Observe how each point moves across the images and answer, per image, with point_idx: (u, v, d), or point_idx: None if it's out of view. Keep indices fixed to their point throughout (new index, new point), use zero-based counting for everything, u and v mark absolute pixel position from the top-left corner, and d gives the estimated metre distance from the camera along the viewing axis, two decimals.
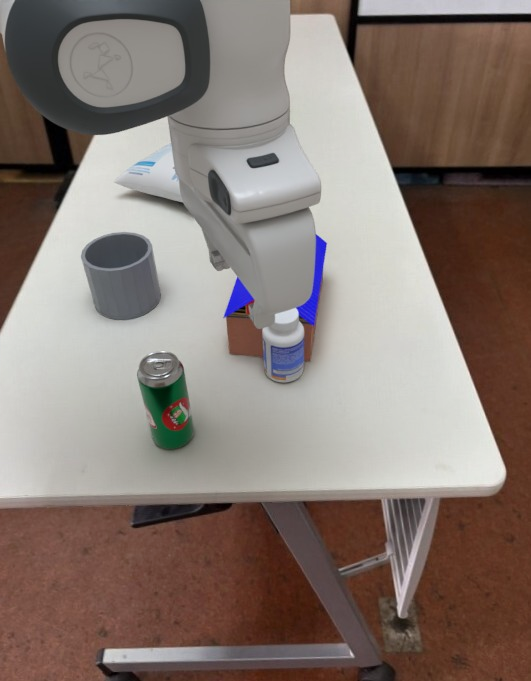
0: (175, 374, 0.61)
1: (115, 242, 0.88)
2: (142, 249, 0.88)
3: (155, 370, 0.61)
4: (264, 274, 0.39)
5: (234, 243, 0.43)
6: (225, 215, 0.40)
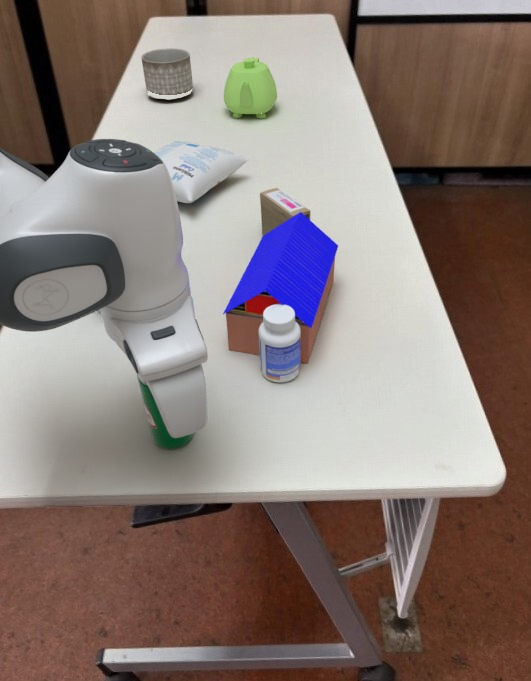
0: None
1: None
2: None
3: None
4: (165, 415, 0.52)
5: None
6: None
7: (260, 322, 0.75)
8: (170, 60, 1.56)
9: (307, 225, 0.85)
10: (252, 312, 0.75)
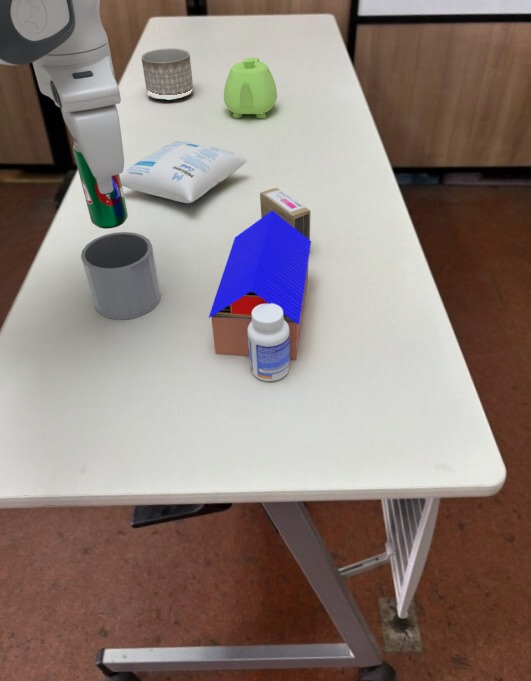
0: None
1: (115, 242, 0.88)
2: (142, 249, 0.88)
3: None
4: (85, 146, 0.63)
5: None
6: None
7: (247, 323, 0.75)
8: (170, 60, 1.56)
9: (280, 223, 0.85)
10: (238, 313, 0.75)
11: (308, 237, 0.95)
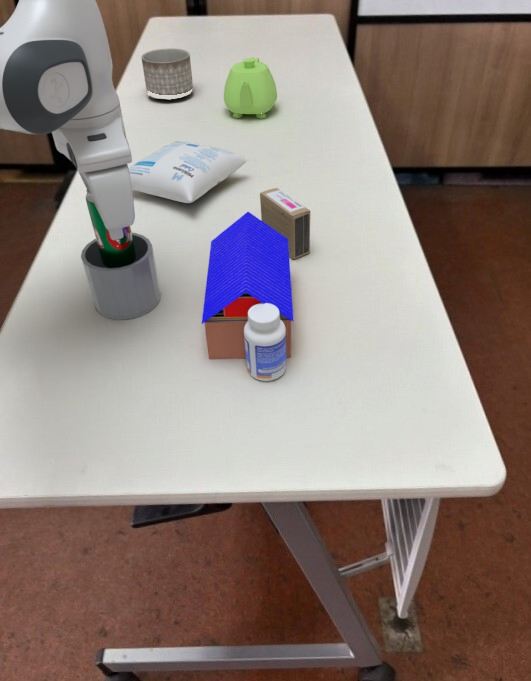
0: None
1: None
2: (142, 249, 0.88)
3: None
4: (99, 203, 0.68)
5: None
6: None
7: (241, 325, 0.75)
8: (170, 60, 1.56)
9: (258, 224, 0.85)
10: (231, 316, 0.75)
11: (308, 237, 0.95)
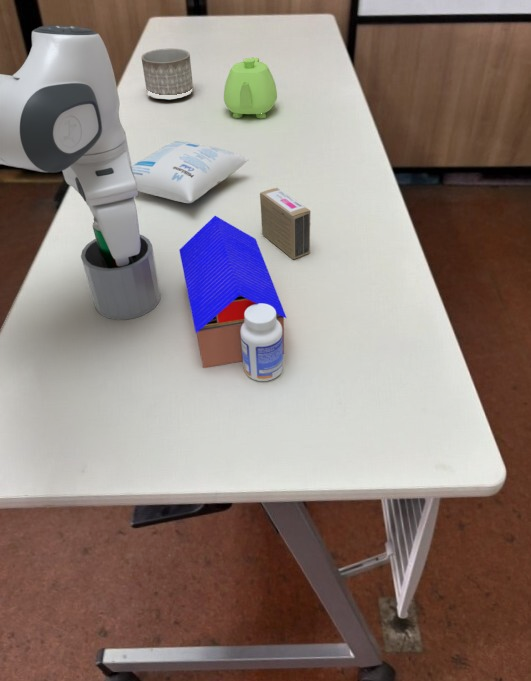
0: None
1: None
2: (142, 249, 0.88)
3: None
4: (107, 234, 0.71)
5: None
6: None
7: (234, 329, 0.74)
8: (170, 60, 1.56)
9: (227, 227, 0.85)
10: (225, 321, 0.74)
11: (308, 237, 0.95)
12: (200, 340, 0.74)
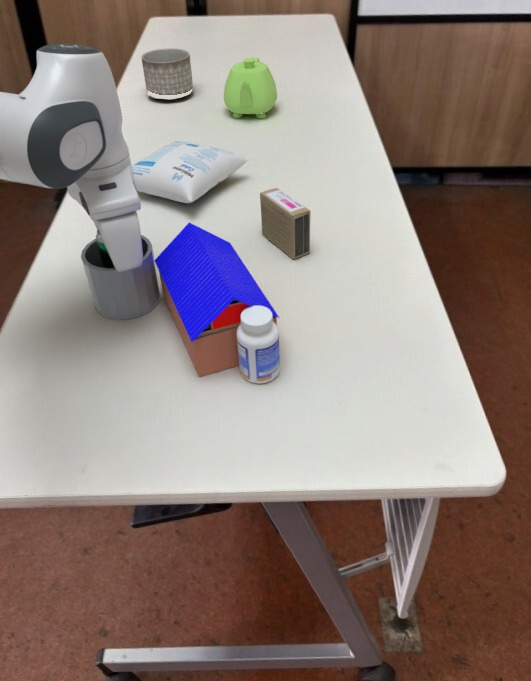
0: None
1: None
2: (142, 249, 0.88)
3: None
4: (110, 247, 0.72)
5: None
6: None
7: (229, 334, 0.74)
8: (170, 60, 1.56)
9: (202, 232, 0.84)
10: (219, 327, 0.73)
11: (308, 237, 0.95)
12: (196, 349, 0.73)
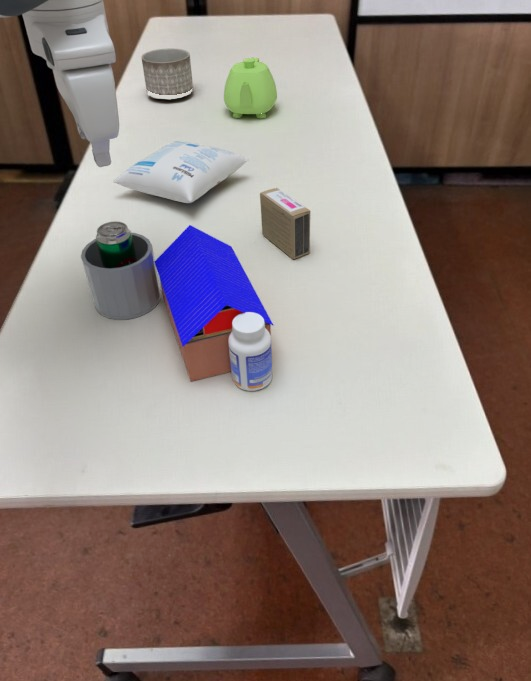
0: (124, 235, 0.81)
1: None
2: (142, 249, 0.88)
3: (109, 232, 0.81)
4: (79, 106, 0.60)
5: None
6: (57, 71, 0.62)
7: (221, 339, 0.73)
8: (170, 60, 1.56)
9: (203, 236, 0.83)
10: (211, 332, 0.72)
11: (308, 237, 0.95)
12: (187, 353, 0.73)
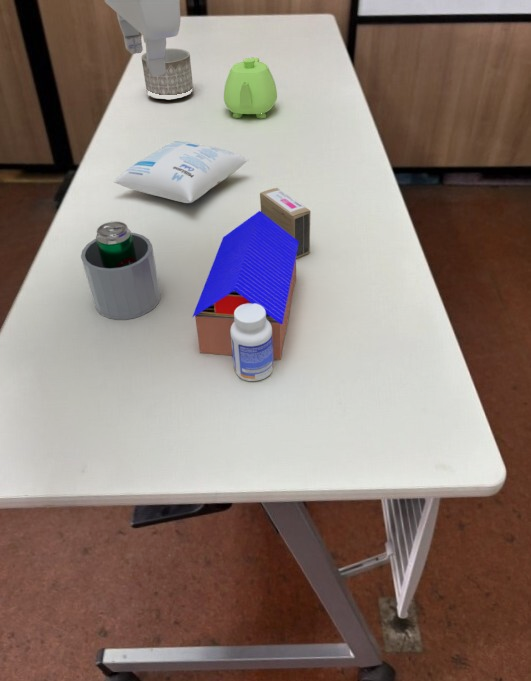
0: (124, 235, 0.81)
1: None
2: (142, 249, 0.88)
3: (109, 232, 0.81)
4: None
5: None
6: None
7: (230, 322, 0.75)
8: (170, 60, 1.56)
9: (267, 224, 0.85)
10: (222, 313, 0.75)
11: (308, 237, 0.95)
12: (197, 325, 0.77)
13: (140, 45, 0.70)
